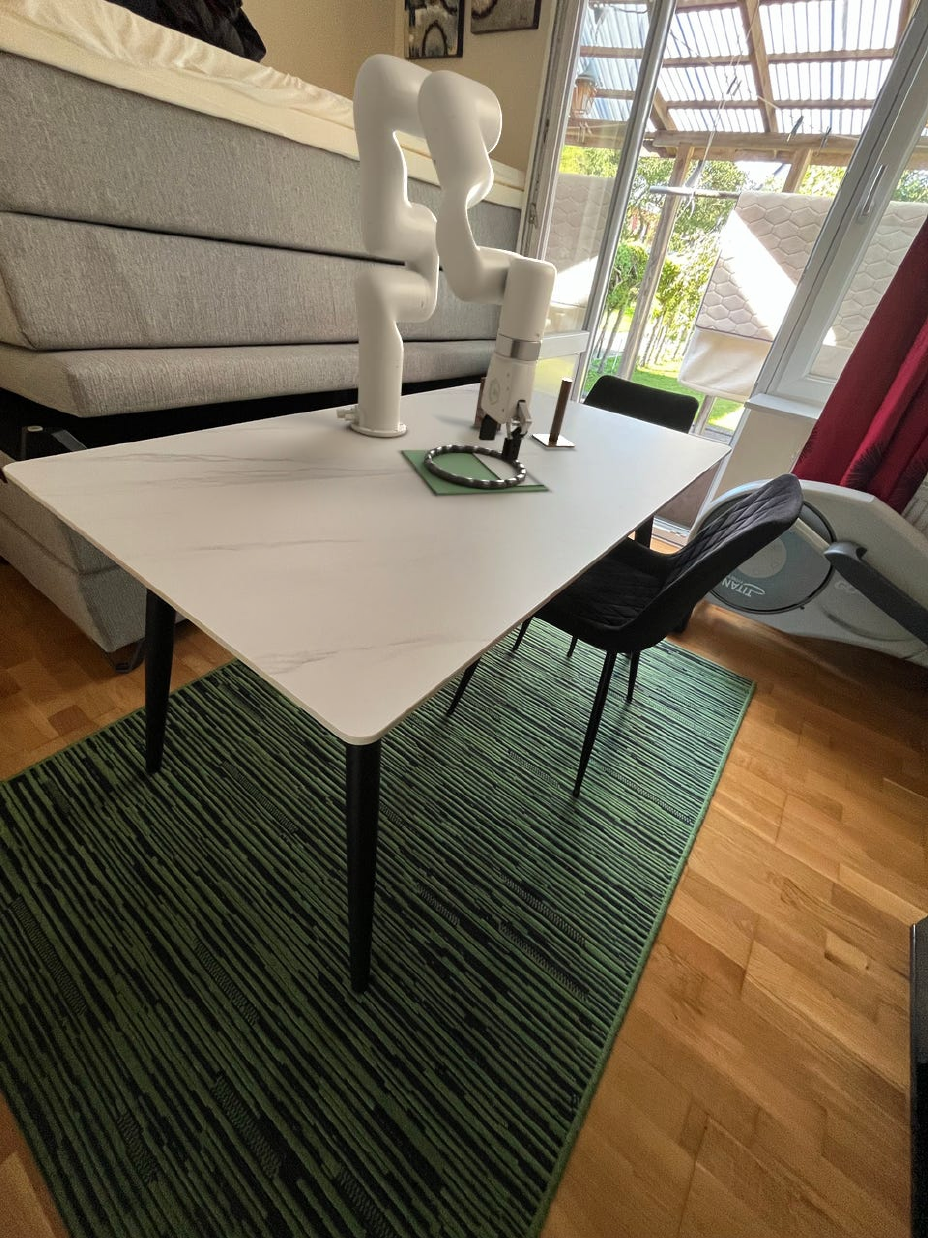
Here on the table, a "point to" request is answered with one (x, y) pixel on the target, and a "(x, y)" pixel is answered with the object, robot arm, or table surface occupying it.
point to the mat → (460, 473)
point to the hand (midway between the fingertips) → (497, 449)
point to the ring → (467, 481)
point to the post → (557, 420)
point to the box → (479, 409)
